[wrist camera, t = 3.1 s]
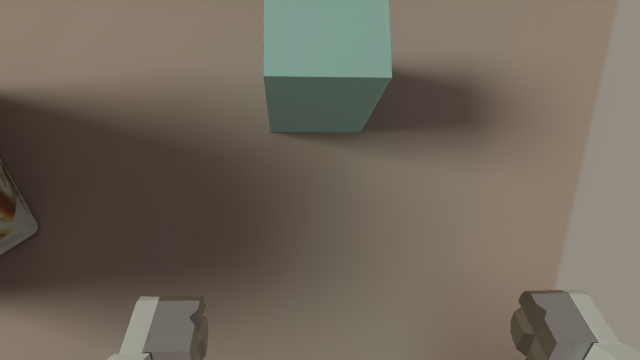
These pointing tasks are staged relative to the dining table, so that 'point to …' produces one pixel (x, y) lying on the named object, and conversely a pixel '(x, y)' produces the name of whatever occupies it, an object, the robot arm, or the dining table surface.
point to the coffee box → (13, 213)
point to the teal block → (325, 63)
